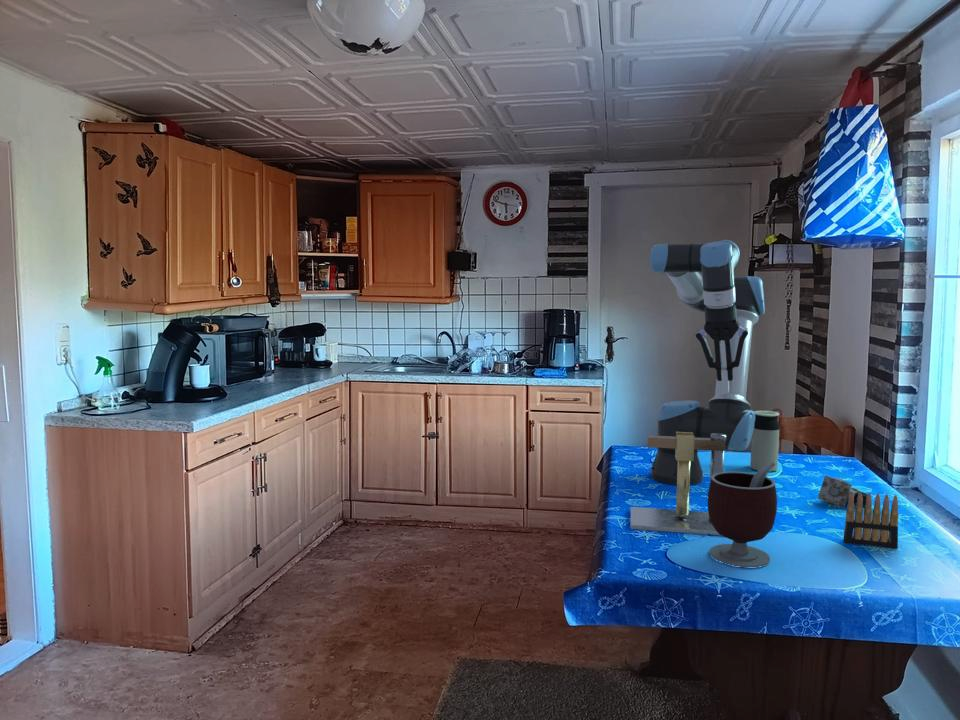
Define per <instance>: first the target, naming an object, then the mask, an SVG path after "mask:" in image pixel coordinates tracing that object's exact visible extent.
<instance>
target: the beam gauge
mask: <svg viewBox="0 0 960 720" xmlns="http://www.w3.org/2000/svg"><path fill="white" fill-rule="evenodd" d="M646 437H647V441H646V445H647V448H657V449H658V448H676V449H677V437H673V436H658V435H652V434H651V435H650V434H649V435H647V436H646ZM725 441H726V435H725V434H721V433H712V434H711V436H710V438H695V437H694V449H696V450H698V451H699V450H700V451H701V450H702V451H710V469H709V470H710V472H709V483H710V482H711V476H712V475H714V474H716V473H721V472H725V471H724V470H725V469H724V468H725V452H726V449H725ZM630 530H639V531H640V530H641V531H653V532H669V533H679V534H680V533H682V534H693V533H694V534H695V533H696V534H695V535H697V534H698V535H707V536H708V534H710V535H711V536H721V535H720V534H719V533H718V532H717V531H716V530H715V528H714V527H713V525H712V524H711V522H710V519H709V513H708V511H702V510H701V511H699V510H698V511H697V510H689V514H688V515H684V518H680V515H678V514H676V509H671V508H670V509H669V508H655V507H640V506H630Z"/></svg>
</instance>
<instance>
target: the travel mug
mask: <svg viewBox="0 0 960 720" xmlns="http://www.w3.org/2000/svg"><path fill="white" fill-rule="evenodd" d="M754 412H755V422H754V429H753V434H752V438H751V441H750V444H751V445H750V465H749V466H750V468H751V469H752V470H754V469H755V470H754V471H757V470H760V469H761V468H763V467H765V466H766V465H768V464H770V463H772V462H773V463H775V466H773V467H772V468H771V469H770V470H769V471H773V472H775V471H777V470H778V466H779V465H778V462H779V447H780V446H779V443H780V441H779V440H780V421H779V420H778V418H779V416H780V413H779V412H776V411H773V410H772V411H771V410H755V411H754Z"/></svg>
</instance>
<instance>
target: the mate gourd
mask: <svg viewBox="0 0 960 720" xmlns="http://www.w3.org/2000/svg"><path fill="white" fill-rule="evenodd" d="M773 466H775V463H773V462H772V463H770V464H768V465H766V466H765V467H763V468H761V469H760V470H759V471H757V470H756V472H755V473H753V472H752V473H751V472H745V471H744V472H743V471H724V472H721V473H716V474H714V475H712V476H711V482H710V481H709V486H708V490H707V512H708V513H709V519H710V522H711V524H712V525H713V527H714V528H715V530H716V531H717V532H718V533H719V534H720V535H719V536H721V535H722V537H724V538H727V539H729V540H731V541H732V543H721V544H717V545H714V546H712V547H710V549H709V556H710V555H711V556H712V557H713V558H714V559H716V560H718V561H721V562H723V563H726V564H730V565H734V566H740V567H759V566H764V565H767V564H768V563H769V562H771V556H770V555H769V554H768V553H767V552H766V551H764V550H761V549H759V548H757V547H753V546H750V545H748V543H750V542H755V541H759V540H762V539H764V538H765V537H766V536H767V535H768V534H769V533H771V531H772V530H773V527H774V525H775V521H776V517H777V512H778V510H777V509H778V496H777V495H778V494H777V488H776V482H775V480H774V479H772V478H770V477H768V473H770V472H769V470H770V469H771V468H772V467H773ZM769 564H770V563H769ZM769 564H768V565H769ZM768 565H767V566H768Z"/></svg>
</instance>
